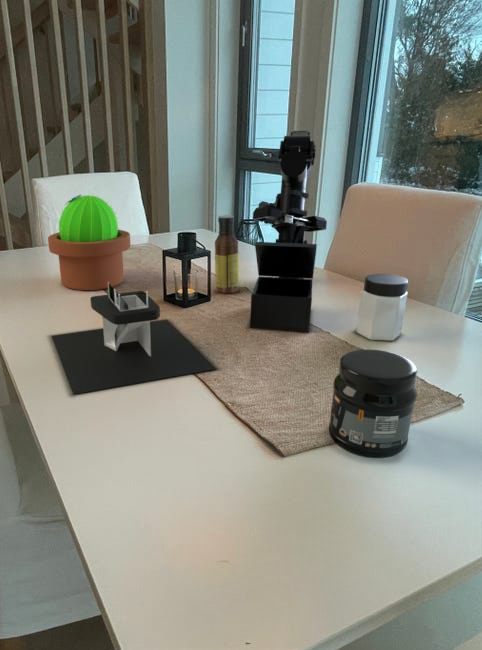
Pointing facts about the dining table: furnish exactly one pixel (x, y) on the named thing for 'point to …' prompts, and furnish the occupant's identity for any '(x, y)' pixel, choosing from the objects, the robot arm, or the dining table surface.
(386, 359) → the supplement container
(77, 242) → the potted cactus
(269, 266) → the bin lid
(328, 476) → the dining table surface
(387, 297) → the jar
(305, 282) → the black storage bin
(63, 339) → the black-topped pedestal
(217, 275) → the sauce bottle
